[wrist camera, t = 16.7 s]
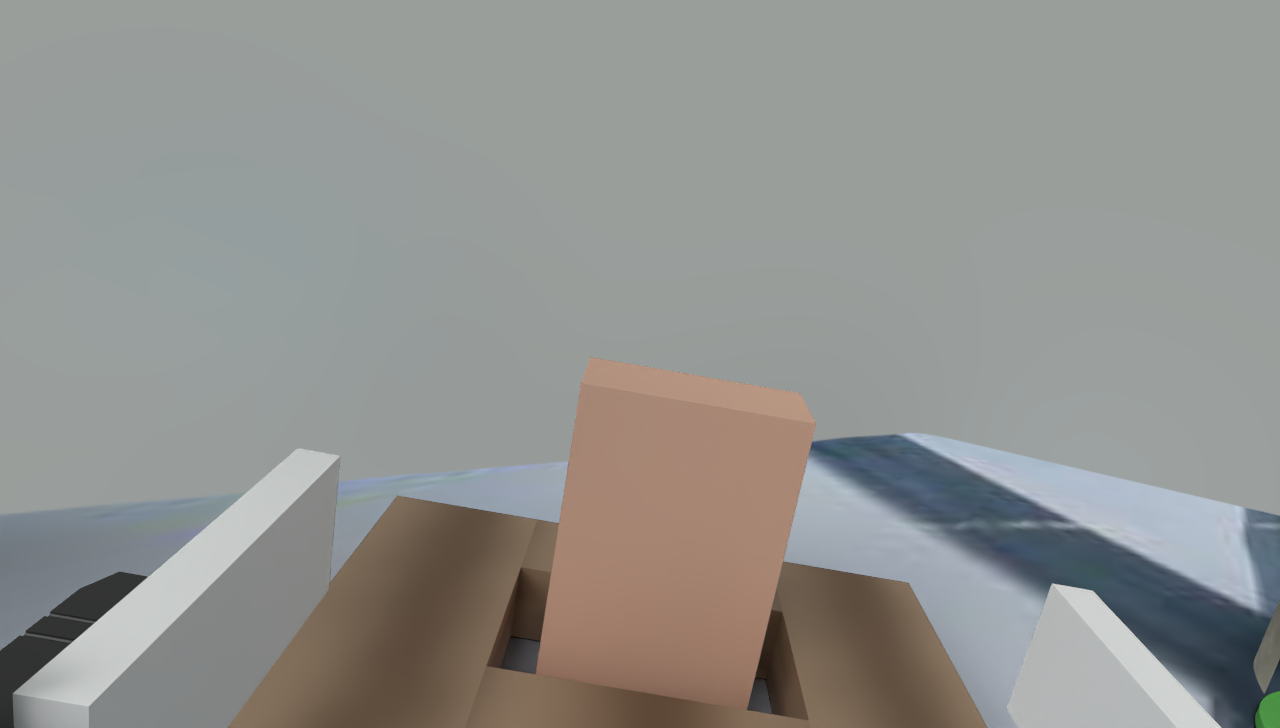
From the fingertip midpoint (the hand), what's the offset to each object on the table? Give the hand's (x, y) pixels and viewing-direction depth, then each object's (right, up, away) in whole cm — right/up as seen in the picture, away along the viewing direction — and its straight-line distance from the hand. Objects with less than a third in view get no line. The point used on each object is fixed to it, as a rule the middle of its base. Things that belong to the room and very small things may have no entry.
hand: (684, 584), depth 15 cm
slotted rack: (-1, -8, +14) cm, 16 cm away
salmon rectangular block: (-1, -8, +14) cm, 16 cm away
